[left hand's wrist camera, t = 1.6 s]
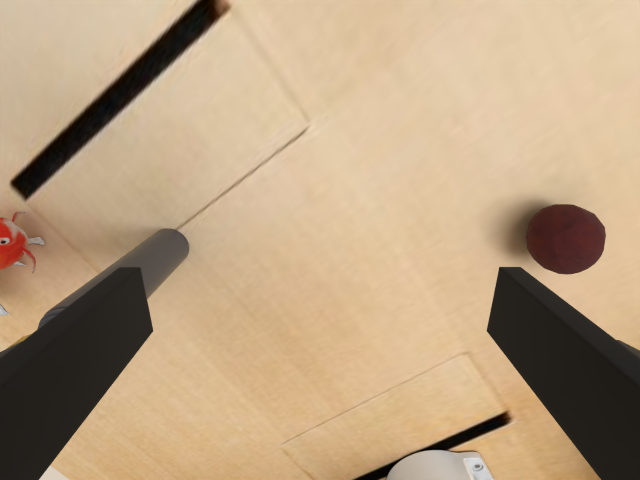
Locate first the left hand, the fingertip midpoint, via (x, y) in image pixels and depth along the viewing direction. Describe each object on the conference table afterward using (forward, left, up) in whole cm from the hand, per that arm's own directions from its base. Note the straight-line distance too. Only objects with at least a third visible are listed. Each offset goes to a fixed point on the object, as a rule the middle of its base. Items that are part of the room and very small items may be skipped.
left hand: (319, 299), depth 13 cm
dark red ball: (+6, +27, -28) cm, 39 cm away
